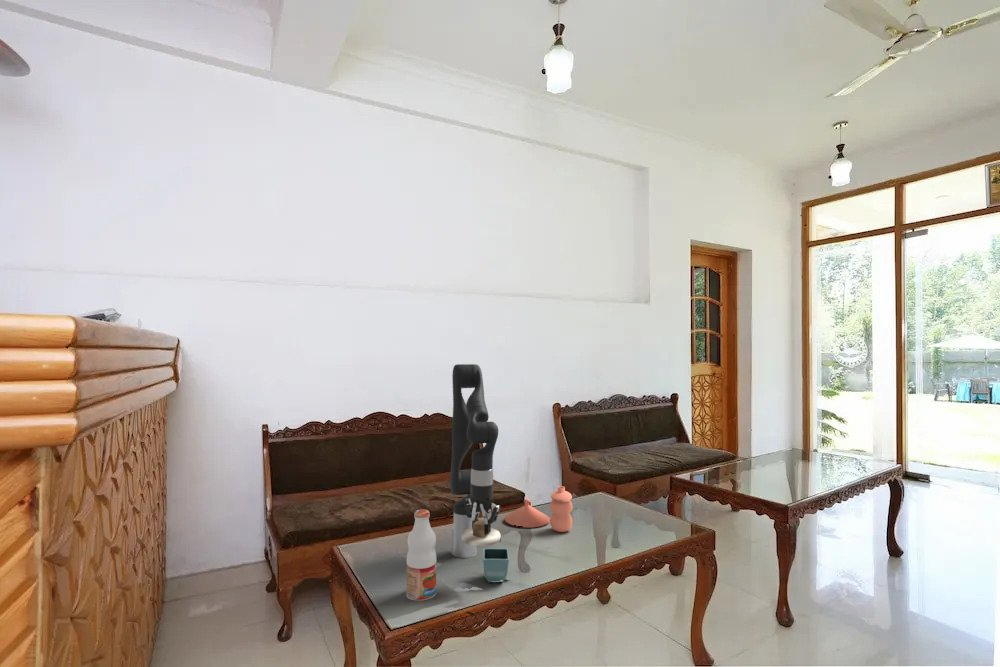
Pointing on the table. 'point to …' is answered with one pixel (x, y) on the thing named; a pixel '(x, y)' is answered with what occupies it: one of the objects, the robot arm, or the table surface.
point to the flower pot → (495, 564)
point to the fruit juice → (421, 559)
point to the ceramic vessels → (535, 518)
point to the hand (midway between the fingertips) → (481, 532)
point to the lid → (480, 535)
